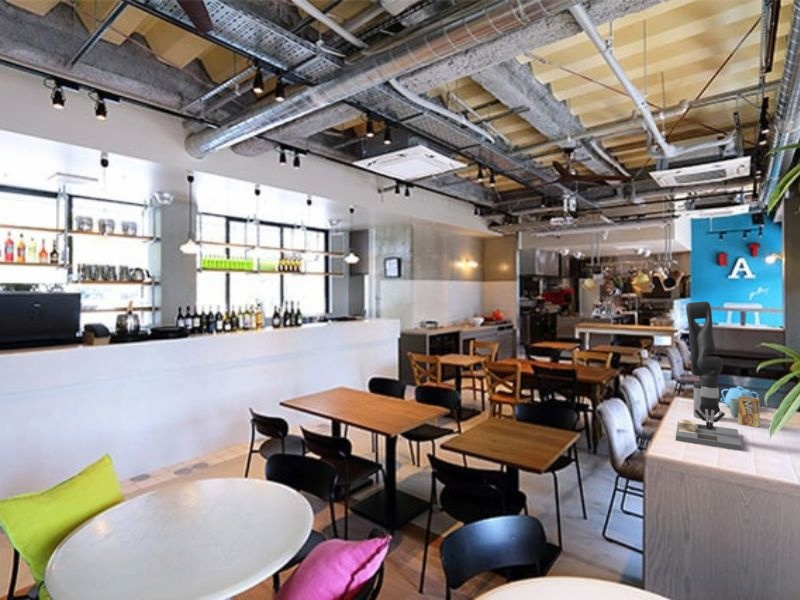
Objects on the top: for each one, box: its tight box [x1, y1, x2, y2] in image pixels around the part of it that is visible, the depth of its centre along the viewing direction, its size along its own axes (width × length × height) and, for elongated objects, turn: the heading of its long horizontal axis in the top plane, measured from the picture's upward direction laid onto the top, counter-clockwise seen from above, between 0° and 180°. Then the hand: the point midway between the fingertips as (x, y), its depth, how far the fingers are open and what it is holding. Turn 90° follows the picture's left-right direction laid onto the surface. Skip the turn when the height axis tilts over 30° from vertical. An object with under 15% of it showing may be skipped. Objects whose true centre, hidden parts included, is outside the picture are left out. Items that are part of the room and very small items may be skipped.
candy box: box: [737, 396, 761, 428], centre depth 241 cm, size 9×4×15 cm, turn 44°
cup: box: [729, 399, 738, 419], centre depth 256 cm, size 8×8×10 cm
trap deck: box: [675, 420, 743, 451], centre depth 223 cm, size 26×28×2 cm
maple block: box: [678, 418, 696, 432], centre depth 228 cm, size 7×7×4 cm
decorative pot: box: [720, 385, 760, 408], centre depth 275 cm, size 16×16×14 cm
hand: (709, 429), depth 222 cm, fingers closed
